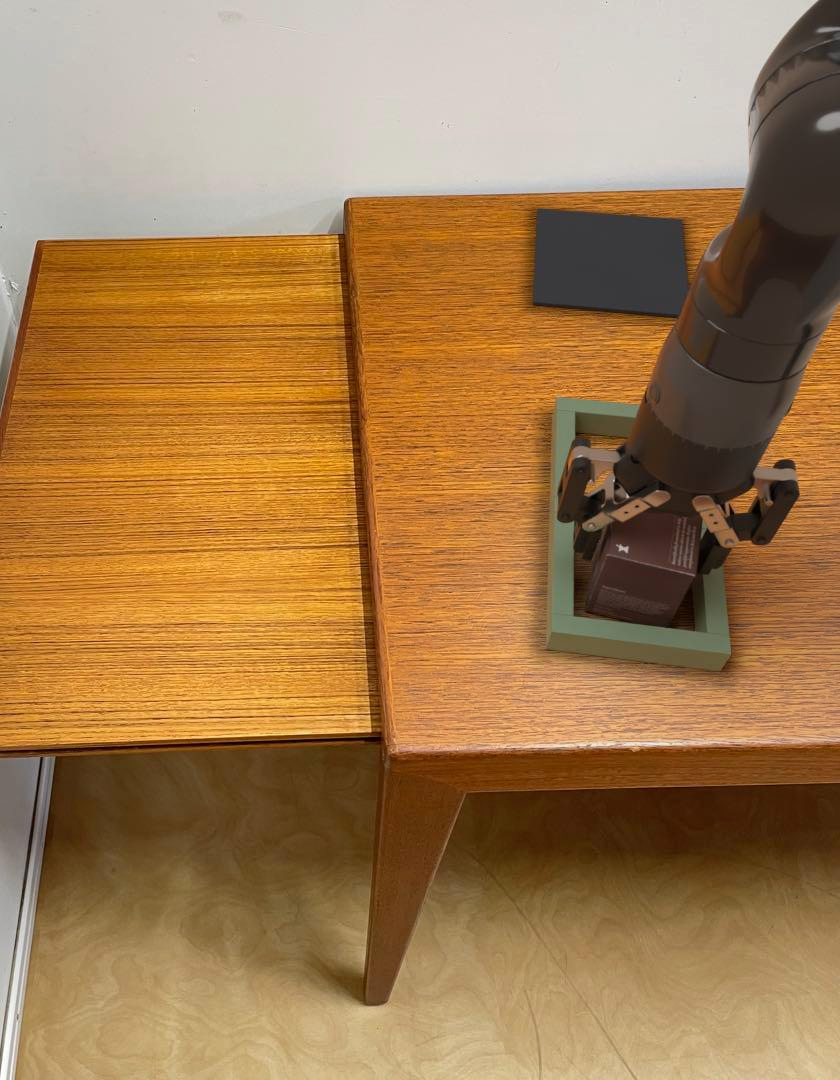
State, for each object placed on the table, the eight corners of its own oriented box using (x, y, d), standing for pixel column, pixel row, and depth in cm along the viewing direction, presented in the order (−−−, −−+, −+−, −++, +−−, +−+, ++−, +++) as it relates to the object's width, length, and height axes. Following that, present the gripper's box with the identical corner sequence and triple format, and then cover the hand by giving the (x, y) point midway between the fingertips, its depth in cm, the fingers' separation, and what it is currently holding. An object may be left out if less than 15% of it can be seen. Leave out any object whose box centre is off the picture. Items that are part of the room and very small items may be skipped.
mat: (680, 222, 98) (682, 219, 97) (689, 319, 90) (690, 315, 89) (537, 211, 99) (537, 208, 99) (532, 305, 91) (533, 301, 91)
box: (666, 634, 71) (697, 578, 65) (581, 612, 72) (604, 555, 66) (676, 567, 74) (706, 507, 68) (595, 547, 75) (617, 487, 69)
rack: (551, 416, 83) (557, 396, 81) (699, 431, 82) (708, 411, 80) (545, 649, 70) (551, 631, 68) (720, 671, 69) (731, 654, 67)
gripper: (838, 361, 58) (742, 527, 71) (588, 337, 59) (540, 503, 73) (858, 459, 54) (752, 615, 67) (588, 430, 55) (537, 588, 69)
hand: (642, 557), depth 70 cm, fingers open, 7 cm apart
